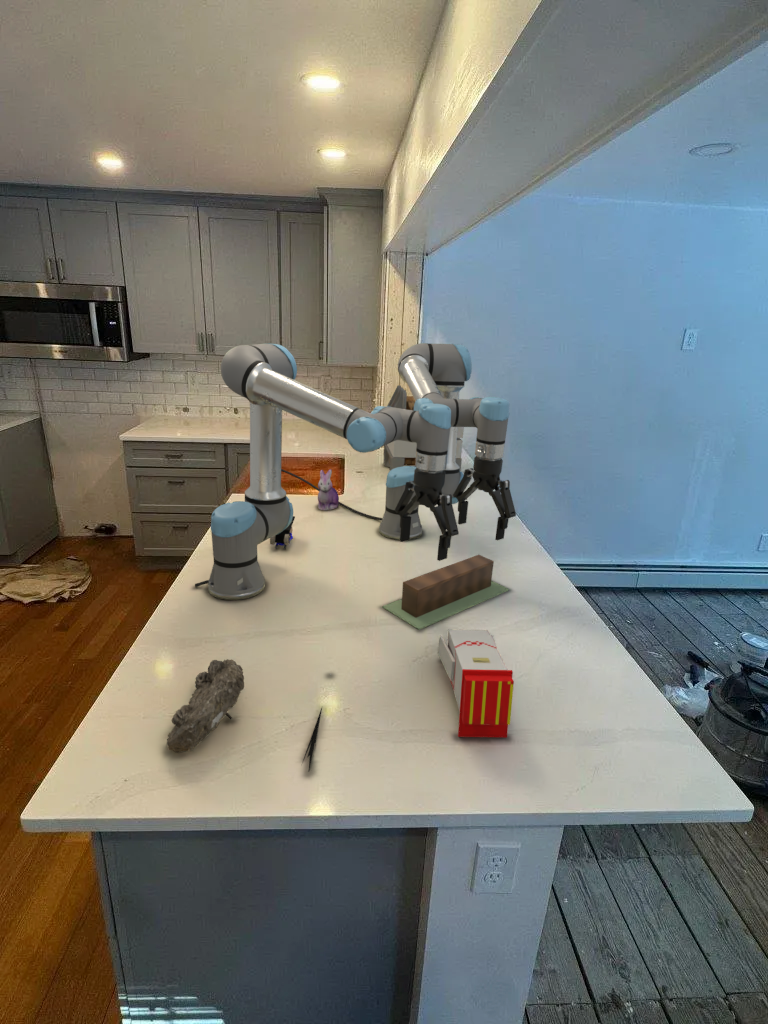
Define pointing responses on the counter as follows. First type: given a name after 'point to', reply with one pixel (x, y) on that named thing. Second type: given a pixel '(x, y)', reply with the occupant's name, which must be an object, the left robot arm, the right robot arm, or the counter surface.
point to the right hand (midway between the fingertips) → (480, 531)
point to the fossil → (206, 705)
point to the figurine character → (283, 536)
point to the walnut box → (446, 585)
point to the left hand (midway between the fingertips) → (422, 549)
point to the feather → (313, 740)
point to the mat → (445, 607)
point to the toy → (478, 682)
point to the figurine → (327, 492)
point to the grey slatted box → (405, 451)
